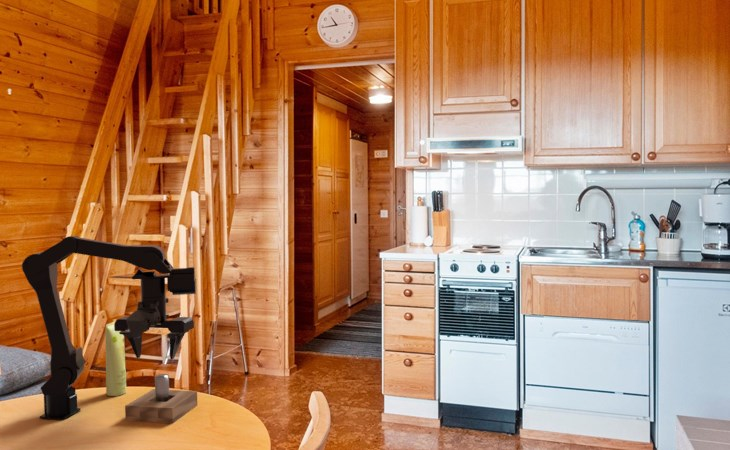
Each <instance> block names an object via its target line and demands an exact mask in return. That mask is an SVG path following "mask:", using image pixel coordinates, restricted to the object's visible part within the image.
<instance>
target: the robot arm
mask: <svg viewBox="0 0 730 450" xmlns="http://www.w3.org/2000/svg"><path fill="white" fill-rule="evenodd" d="M73 254H77V255H78V254H79V255H83V256H92V257H97V258H104V259H110V260H116V261H122V262H124V263H128V264H129V265H130V264H131V265H132V266H135V267H138V269H137V271H136V272H135V273H134V275H132V276H131V279H132V280H140V301H138V302H137V309H136V310H135V311H133V312H132V313H131V314H130V315H126V316H123V317H119V318H117V319H116V320H114V322H115V323H114V331H121V332H119V333H120V334H122V335H124V338H127V340H128V341H129V343H130V345H131V348H132V350H133V353H134V355H135V358H136V359H139V358H141V355H142V347H143V346H142V345H143V344H142V343H143V342H142V341H143V333H146V332H148V331H149V330H150V328H151V329H167V330H168V332H169V333H167V337H168V338H169V357H170V360H173V359H175V357H176V354H177V352H178V349H179V346H180V345H181V342H182V340H183V339H184V336H185V334H186V333H188V332H190V331H191V330H192V329H194V328H195V321H194V319H193V318H192V317H191V316H188V317H187V316H178V317H175V318H173V319H170V314H168V313H167V304H168V303H169V297H166V285H167V292H169V293H172V296H183V295H197V278H196V271H195V270H196V269H195V267H194V266H188V267H179V268H177V267H176V268H174V266H173V265H172V264H171V263H170V262H169V261H168V260H167V258H166V253H165V251H164V249H163V248H162V247H161V246H159V245H157V244H132V245H128V244H121V243H115V242H108V241H104V240H103V241H102V240H97V239H91V238H85V237H84V238H83V237H79V236H78V235H69V236H66V237H64V238H62V240H61V241H59V242H57V243H56V244H54V245H52V246H51V247H48V248H47V249H46V250H43V251H40V252H36V253H32V254H30V255H28V256H27V257H25V258H24V260H23V262H22V263H21V269H22V272H23V274H24V276H25V278H26V281H27V282H28V284H29V285H30V287H31V288H32V289H33V290H34V292H35V294H36V297H37V301H38V305H39V308H40V311H41V316H42V319H43V323H44V326H45V331H46V334H47V339H48V341H49V345H50V349H51V350H50V351H51V354H50V361H49V363H50V364H49V366H50V377H49V379H47V380H46V382H44V383H43V384H42V386H40V390H41V393H42V395H43V407H44V408H43V409H44V413H42V414H40V415H39V419H46V420H48V419H49V420H60V421H61V420H66V419H67V418H69V417H71V416H73V415H75V414H76V413H78V412H80V411H81V408H80V407H78V394H77V393H76V387H74V386H73V385H74V384H75V382H76V380H78V378H79V377H80V376H81V375H82V374H83V372H84V369H85V364H86V363H87V361H86V359H85V358H84V354H83V353H84V352H83V351H84V349H83V347H82V346H80V347H78V348H76V347H75V346H74V345H73V343H72V341H71V337H70V334H69V329H68V325H67V323H66V317H65V314H64V310H63V306H62V302H61V298H60V295H59V292H58V287H57V286H58V276H59V273H58V265H59V264H60V263H62V262H64V260H67V258H69V257H70V256H71V255H73ZM143 269H144V270H147V271H143ZM154 270H155V271H154ZM157 273H160V274H157ZM166 280H167V283H166ZM169 319H170V320H169Z"/></svg>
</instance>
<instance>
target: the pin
mask: <svg viewBox="0 0 730 450" xmlns="http://www.w3.org/2000/svg"><path fill="white" fill-rule="evenodd" d="M154 389H155V401H158V402H167V401H168V400H170V399H169V390H170V374H168V373H160V374H157V375H154Z"/></svg>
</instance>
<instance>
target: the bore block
mask: <svg viewBox="0 0 730 450" xmlns="http://www.w3.org/2000/svg"><path fill="white" fill-rule="evenodd" d="M169 399H170V400H168V401H167V402H158V401H155V388H154V389H153V388H152V389H151V390H149V391H148V392H146V393H144V394H143V395H141V396H139V397H138V398H136V399H133V400H132V401H131V402H129V403H127V404H125V406H124V410H125V411H124V413H125V421H126V422H127V421H128V422H132V421H133V422H144V423H145V422H146V423H163V424H174V423H175V422H176V421H178V420H179V419H181V418H182V417H184V416H185V415H186V414H187V413H189V412H191V411H192V410H193V409H194V408H196V407H197V406H198V390H197V391H196V390H177V389H169Z"/></svg>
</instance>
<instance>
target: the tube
mask: <svg viewBox="0 0 730 450" xmlns="http://www.w3.org/2000/svg"><path fill="white" fill-rule="evenodd" d="M114 323H115V321H113V322H109V323H107V324H105V388H106V389H105V390H106V395H107V396H109V397H118V396H121V395H124V394H125V393H127V373H126V355H125V354H126V352H125V349H126V348H125V336H124V335H122V334H120V333H119V332H121V331H114ZM125 387H126V388H125Z"/></svg>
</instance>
